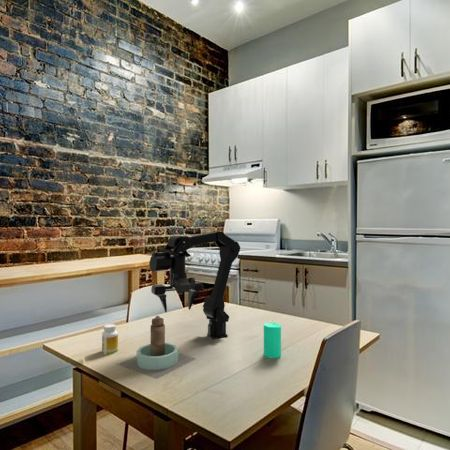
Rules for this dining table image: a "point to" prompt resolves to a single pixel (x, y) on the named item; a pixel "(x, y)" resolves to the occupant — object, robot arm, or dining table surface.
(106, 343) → the supplement bottle
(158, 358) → the bowl
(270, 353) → the candle
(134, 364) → the mat
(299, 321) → the dining table surface
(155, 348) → the mill
